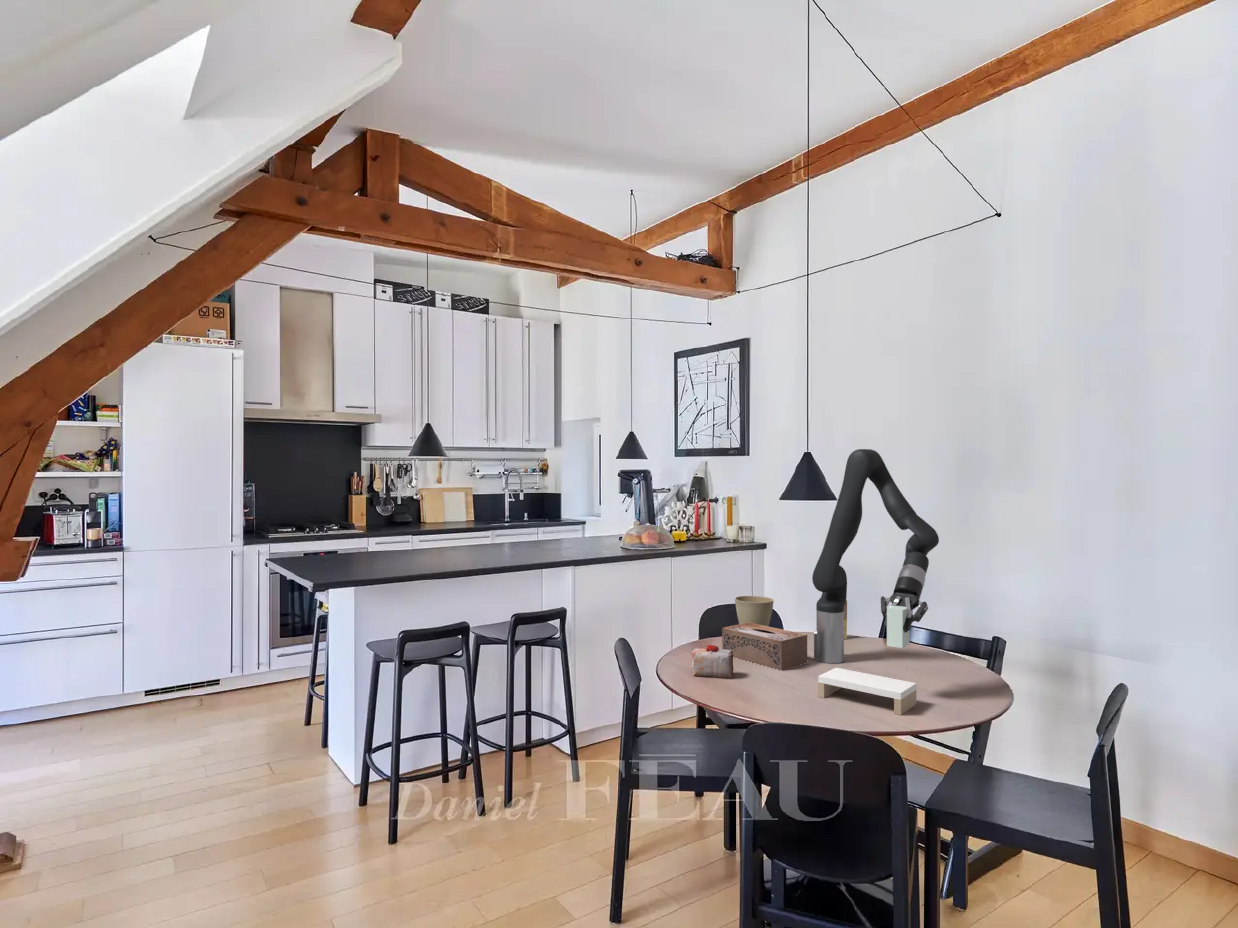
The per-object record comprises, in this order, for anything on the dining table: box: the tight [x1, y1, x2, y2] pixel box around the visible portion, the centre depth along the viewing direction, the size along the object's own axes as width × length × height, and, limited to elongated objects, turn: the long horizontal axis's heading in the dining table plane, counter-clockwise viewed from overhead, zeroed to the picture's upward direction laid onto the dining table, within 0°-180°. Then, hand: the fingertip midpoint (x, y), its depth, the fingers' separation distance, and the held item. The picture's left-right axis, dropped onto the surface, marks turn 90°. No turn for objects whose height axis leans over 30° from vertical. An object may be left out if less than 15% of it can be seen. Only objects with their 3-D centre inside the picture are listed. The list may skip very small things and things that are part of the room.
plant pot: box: [734, 595, 775, 627], centre depth 281 cm, size 15×15×16 cm
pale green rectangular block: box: [886, 605, 911, 649], centre depth 212 cm, size 4×6×11 cm
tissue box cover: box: [721, 622, 808, 671], centre depth 253 cm, size 26×14×10 cm, turn 40°
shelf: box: [817, 667, 917, 716], centre depth 208 cm, size 24×12×6 cm, turn 49°
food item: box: [691, 643, 734, 679], centre depth 234 cm, size 14×8×10 cm, turn 76°
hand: (896, 629), depth 211 cm, fingers closed on pale green rectangular block, 4 cm apart
